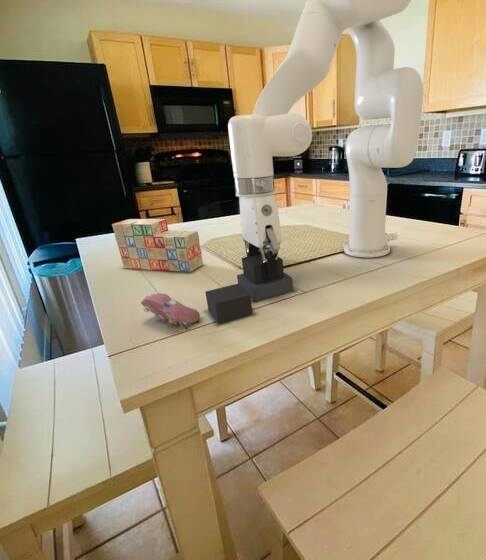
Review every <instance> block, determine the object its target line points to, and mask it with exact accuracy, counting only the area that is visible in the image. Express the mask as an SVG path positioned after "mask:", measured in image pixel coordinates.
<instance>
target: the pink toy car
mask: <svg viewBox="0 0 486 560" xmlns="http://www.w3.org/2000/svg"><path fill="white" fill-rule="evenodd" d="M140 304H141V305H142V307H143V308H142V309H143V311H144V312H145V313H147V314H149V313H152V314H154V315H155V316H156V317H158V318H159V319H160V320H162V321H164V322H165V321H168V323H169V324H173V325H175V326H177V325H178V324H179V323H180V322H182V323H185V324H193V323H196V322H198V321H199V320H200V317H201V315H200V312H199V311H198V310H197V309H195V308H191V307H189V306H186V305H184V304H183V303H181V302H179V301H178V300H176V299H174V298H172V297H170V295H168V294H166V293H162V292H160V293H153V292H150V293H149V295H146V296H145V297H144V298H143V299H142V300H141V301H140Z"/></svg>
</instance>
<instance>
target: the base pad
mask: <svg viewBox="0 0 486 560" xmlns="http://www.w3.org/2000/svg"><path fill="white" fill-rule="evenodd" d="M236 279H237V284H239V285H240V286H241V287H242V288H243V289H245V290H246V291H247V292H248V293H249V294H250V296H251V301H253V302H258V301H263V300H265V299H269V298H273V297H276V296H280V295H283V294H286V293H291V292H294V279H293V277H292V276H290V275H289V274H287V273H286V272H284V277H283V278H279V279H275V280H271V281H267V282H264V283H260V284H256V285H255V284H254V283H253V282H252V281H250V280H249V279H248V278H247V277H245V276H244V272H242V273H239V274H236Z"/></svg>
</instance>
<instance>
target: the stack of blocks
mask: <svg viewBox="0 0 486 560" xmlns="http://www.w3.org/2000/svg"><path fill="white" fill-rule="evenodd" d="M111 227H112V231H113V232H114V237H115V238H114V239H115V241H116V244H117V247H118V251H119V254H120V258H121V262H122V266H123V268H124V269H133V270H147V271H148V270H149V271H167V272H182V273H191V272H193V271H195V270H196V269H198V268H199V267H202V266H203V265H204V260H203V255H202V249H201V244H200V236H199V231H198V230H175V229H173V230H169V226H168V222H167V219H166V218H129V219H125V220H121V221H119V222H114V223H112V224H111Z"/></svg>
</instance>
